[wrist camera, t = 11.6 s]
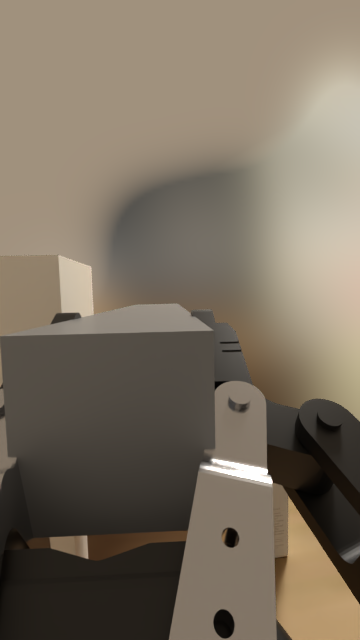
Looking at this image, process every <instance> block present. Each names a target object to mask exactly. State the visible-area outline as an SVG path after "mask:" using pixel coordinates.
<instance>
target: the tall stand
mask: <svg viewBox="0 0 360 640" xmlns="http://www.w3.org/2000/svg"><path fill="white" fill-rule="evenodd" d="M77 312H78V313H80V315H81V317H86V316H90V315H94V313H93V293H92V271H91V267H90V266H88V265H85V264H82V263H79V262H77V261H74V260H71V259H68V258H65V257H63V256H60V255H31V256H0V336H3V335H7V334H12V333H16V332H20V331H25V330H29V329H33V328H38V327H42V326H46V325H50V324H51V322H52V320H53V318H54V316H55V315H56V314H57V313H77ZM2 383H3V377H2V363H1V348H0V387H1V385H2ZM49 538H50V545H51V549H55V550H58V551H62V552H66V553H69V554H73V555H76V556H80V557H83V558H87V559H88V544H87V535H86V536H66V537H49Z"/></svg>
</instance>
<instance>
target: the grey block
mask: <svg viewBox="0 0 360 640" xmlns="http://www.w3.org/2000/svg"><path fill="white" fill-rule="evenodd" d="M0 348H1V363H2V377H3V392H4V407H5V422H6V437H7V451H8V457H17V461H18V465H19V470H20V475H21V480H22V485H23V489H24V494H25V499H26V504H27V509H28V513H29V518H30V523H31V528H32V533H33V537H34V538H46V537H66V536H86V535H107V534H127V533H147V532H167V531H188V528H189V523H190V517H191V511H192V506H193V500H194V494H195V489H196V483H197V477H198V472H199V467H200V463H201V461H202V458H203V453H204V449H215V382H214V330H212V329H211V328H210V327H208V326H207V325H206V324H204V323H203V322H202V321H200V320H199V319H197V318H196V317H193V316H192V315H191V313H189V312H188V311H187V310H185V309H184V308H183V307H181V306H180V305H179V304H150V305H149V304H148V305H133V306H129V307H125V308H120V309H116V310H112V311H108V312H103V313H99V314H94V315H90V316H86V317H81V318H78V319H74V320H68V321H64V322H59V323H55V324H51V325H46V326H42V327H38V328H33V329H29V330H25V331H20V332H16V333H12V334H7V335H3V336H0Z"/></svg>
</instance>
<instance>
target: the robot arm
mask: <svg viewBox="0 0 360 640" xmlns="http://www.w3.org/2000/svg"><path fill="white" fill-rule="evenodd" d="M191 315H192V316H193V317H196V318H197V319H199V320H200V321H202V322H203V323H204V324H206V325H207V326H208V327H210V328H211V329H212V330H214V382H215V449H204V453H203V458H202V461H201V463H200V467H199V472H198V477H197V483H196V489H195V494H194V500H193V506H192V511H191V517H190V523H189V528H188V534H187V540H186V541H176V542H156V543H148V544H145V545H142V546H140V547H137V548H134V549H131V550H128V551H126V552H123V553H120V554H117V555H114V556H112V557H109V558H106V559H103V560H99V561H95V560H90V559H87V558H83V557H80V556H76V555H73V554H69V553H66V552H62V551H58V550H55V549H51V545H50V538H49V537H46V538H34V537H33V533H32V528H31V523H30V518H29V513H28V509H27V504H26V499H25V494H24V489H23V485H22V480H21V475H20V470H19V465H18V461H17V457H8V451H7V437H6V422H5V407H4V392H3V383H2V385H1V387H0V640H292V639H291V638H290V636H289V635H288V634H287V632H286V631H285V630H284V628H283V627H282V626H281V625H280V623H279V622H278V621H277V619H276V595H275V558H274V522H273V488H272V483H275V484H279V485H282V486H283V488H284V490H285V491H286V493H287V494H288V496H289V497H290V499H291V500H292V502H293V503H294V505H295V506H296V508H297V509H298V511H299V513H300V514H301V516H302V517H303V519H304V520H305V522H306V523H307V525H308V526H309V528H310V529H311V531H312V532H313V534H314V535H315V537H316V538H317V540H318V541H319V543H320V544H321V546H322V548H323V549H324V551H325V552H326V554H327V555H328V557H329V558H330V560H331V561H332V563H333V564H334V566H335V567H336V569H337V570H338V572H339V573H340V575H341V576H342V578H343V579H344V581H345V583H346V584H347V586H348V587H349V589H350V590H351V592H352V593H353V595H354V596H355V598H356V599H357V601H358V602H359V604H360V422H359V421H358V420H357V419H356V418H355V417H354V416H353V415H352V414H351V413H350V412H349V411H348V410H347V409H345V408H344V407H342V406H341V405H339V404H337V403H335V402H332V401H329V400H325V399H312V400H309V401H306V402H305V403H304V404H303V405H302V406H301V408H300V409H297V408H292V407H288V406H283V405H280V404H276V403H273V402H271V401H269V400H267V399H265V397H264V395H263V394H262V393H261V391H260V390H258V389H257V388H256V387H255V386H253V384H252V381H251V378H250V375H249V372H248V368H247V366H246V362H245V359H244V356H243V353H242V352H241V347H240V344H239V341H238V338H237V335H236V331H235V330H233V328H231V326H229V325H228V323H215V320H214V316H213V312H212V310H211V309H210V310H192V311H191ZM78 318H81V315H80V313H78V312H77V313H57V314H56V315H55V316H54V318H53V320H52V322H51V324H55V323H59V322H64V321H68V320H74V319H78ZM51 324H50V325H51Z"/></svg>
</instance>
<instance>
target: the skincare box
mask: <svg viewBox="0 0 360 640" xmlns="http://www.w3.org/2000/svg"><path fill="white" fill-rule="evenodd" d="M272 488H273V522H274V558H278V557H284V556H287V555H288V494H287V493H286V491H285V490H284V488H283V486H282V485H279V484H275V483H272Z"/></svg>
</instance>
